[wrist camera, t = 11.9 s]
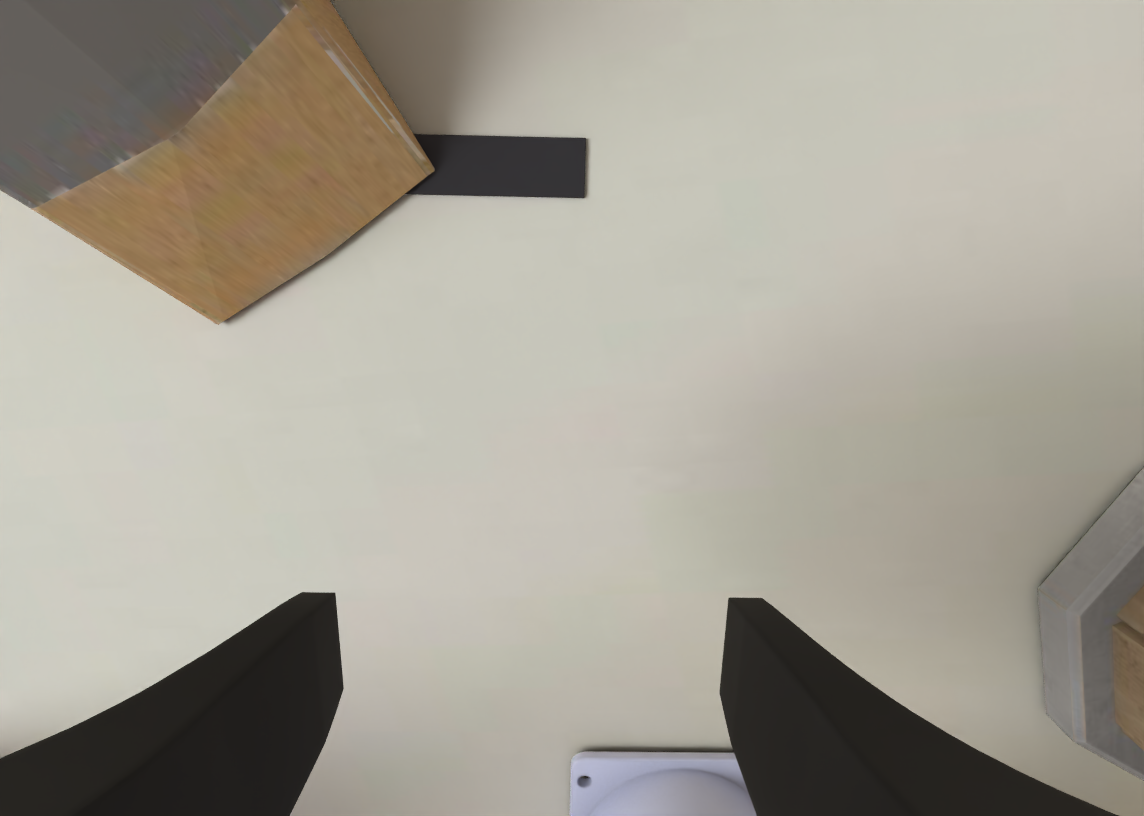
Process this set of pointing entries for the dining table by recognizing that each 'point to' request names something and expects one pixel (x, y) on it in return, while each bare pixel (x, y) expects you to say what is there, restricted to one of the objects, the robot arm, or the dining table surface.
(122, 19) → the sandwich container
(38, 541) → the dining table surface
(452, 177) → the tape line
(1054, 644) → the tankard
